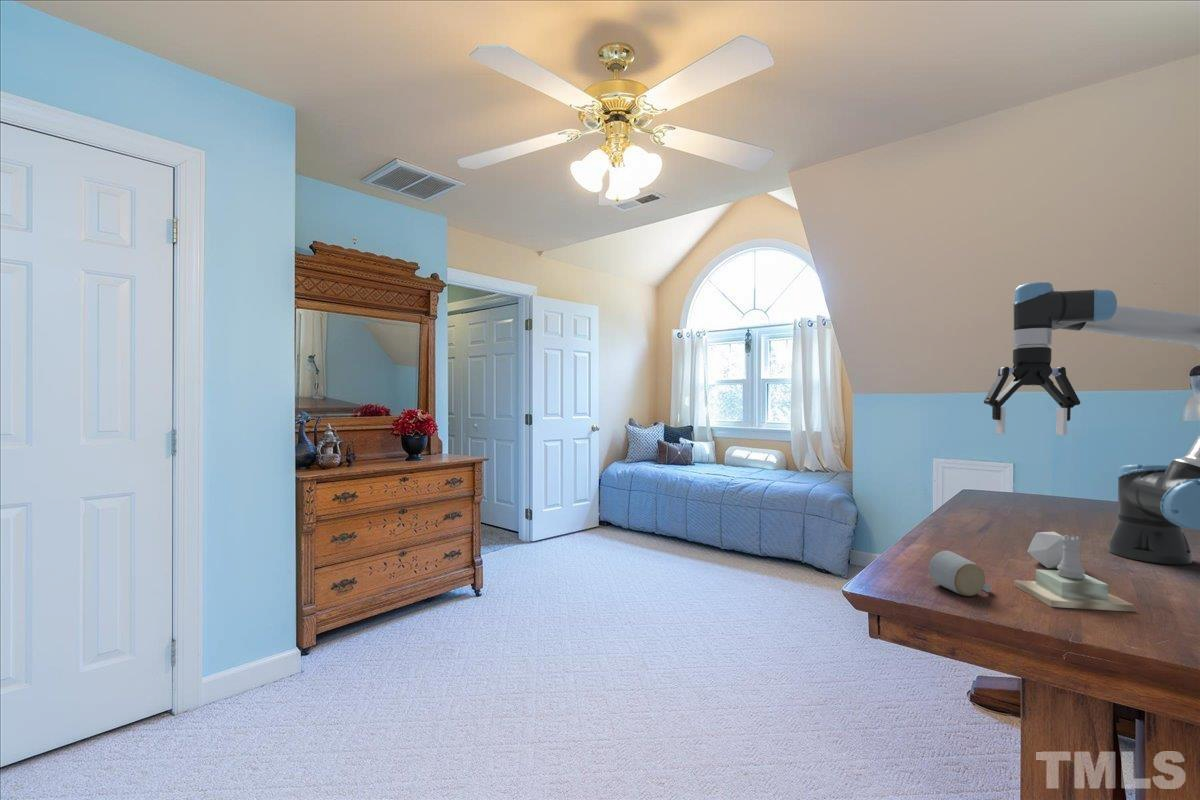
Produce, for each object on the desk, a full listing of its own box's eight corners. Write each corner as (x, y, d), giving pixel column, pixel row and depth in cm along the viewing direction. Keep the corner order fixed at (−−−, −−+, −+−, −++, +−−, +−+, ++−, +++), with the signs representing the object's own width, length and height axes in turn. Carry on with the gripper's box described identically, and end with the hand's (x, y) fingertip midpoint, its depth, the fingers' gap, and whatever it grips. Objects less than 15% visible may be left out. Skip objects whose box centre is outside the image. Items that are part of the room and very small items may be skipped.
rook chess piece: (1061, 578, 111) (1062, 537, 111) (1052, 571, 115) (1053, 532, 115) (1089, 581, 109) (1090, 540, 109) (1079, 574, 113) (1080, 534, 113)
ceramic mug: (956, 598, 111) (957, 561, 111) (927, 585, 119) (928, 550, 119) (1002, 597, 112) (1003, 560, 112) (971, 584, 120) (972, 549, 120)
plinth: (1087, 589, 117) (1088, 569, 117) (1133, 611, 105) (1134, 589, 105) (1014, 585, 119) (1014, 565, 119) (1051, 606, 107) (1051, 584, 107)
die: (1081, 576, 128) (1086, 538, 131) (1047, 557, 128) (1054, 520, 131) (1047, 578, 135) (1054, 542, 139) (1016, 560, 135) (1023, 524, 139)
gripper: (1077, 348, 140) (1076, 433, 140) (969, 348, 144) (967, 432, 144) (1100, 345, 133) (1098, 436, 133) (984, 346, 136) (983, 434, 136)
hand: (1030, 434), depth 138 cm, fingers open, 13 cm apart
